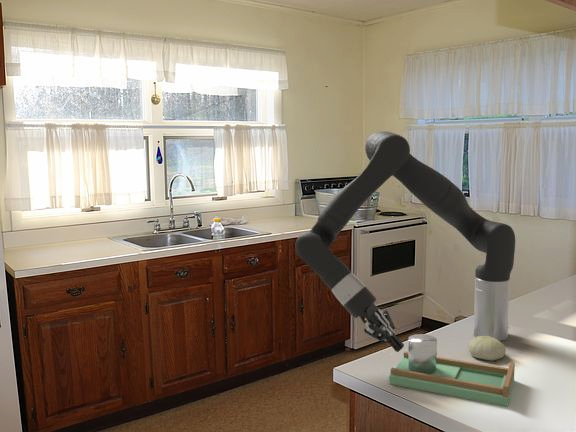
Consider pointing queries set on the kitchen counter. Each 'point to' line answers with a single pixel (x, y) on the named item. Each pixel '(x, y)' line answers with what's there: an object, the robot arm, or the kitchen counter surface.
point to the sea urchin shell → (487, 348)
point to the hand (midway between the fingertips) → (400, 349)
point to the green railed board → (459, 380)
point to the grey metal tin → (422, 354)
